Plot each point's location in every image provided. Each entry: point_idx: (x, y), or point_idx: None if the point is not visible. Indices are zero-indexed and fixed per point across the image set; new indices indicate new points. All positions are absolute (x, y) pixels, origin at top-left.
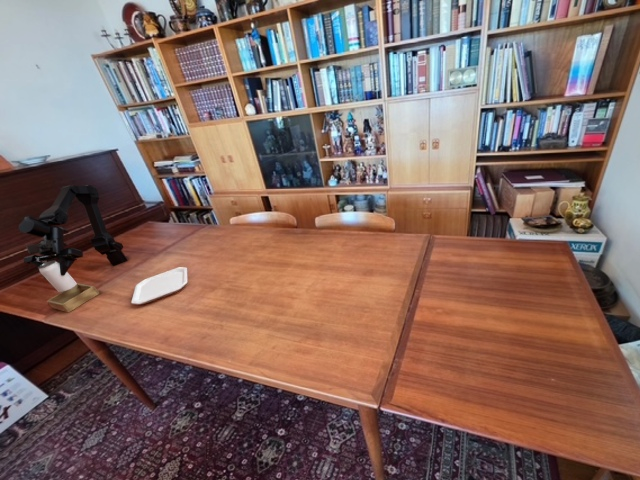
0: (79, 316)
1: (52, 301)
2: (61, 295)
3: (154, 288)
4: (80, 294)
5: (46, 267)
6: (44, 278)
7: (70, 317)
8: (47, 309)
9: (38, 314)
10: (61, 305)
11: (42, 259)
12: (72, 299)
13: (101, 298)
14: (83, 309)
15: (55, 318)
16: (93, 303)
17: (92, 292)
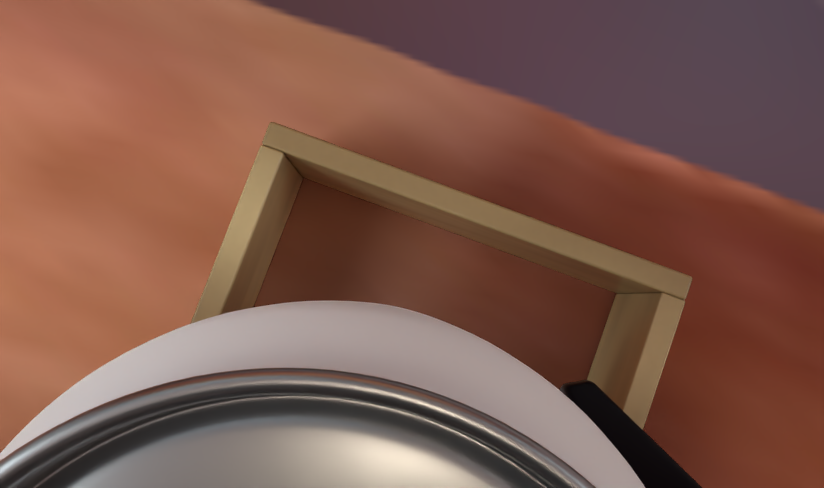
0: (50, 44)
1: (554, 246)
2: None
3: None
4: None
5: (17, 469)
6: (587, 383)
7: (172, 46)
8: (717, 273)
9: (752, 187)
10: (300, 133)
11: None
12: (222, 248)
13: (20, 378)
14: (113, 177)
15: (389, 63)
16: (61, 283)
17: None
